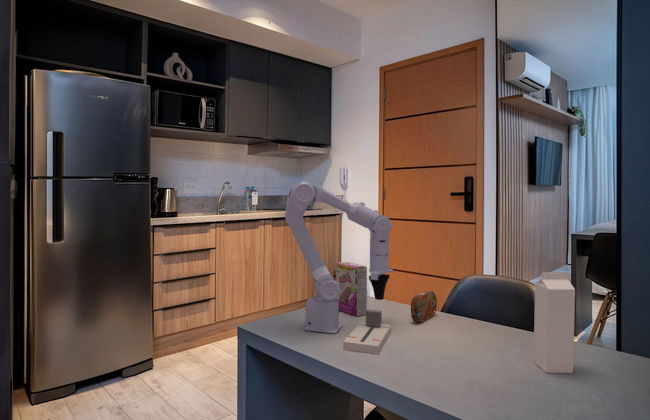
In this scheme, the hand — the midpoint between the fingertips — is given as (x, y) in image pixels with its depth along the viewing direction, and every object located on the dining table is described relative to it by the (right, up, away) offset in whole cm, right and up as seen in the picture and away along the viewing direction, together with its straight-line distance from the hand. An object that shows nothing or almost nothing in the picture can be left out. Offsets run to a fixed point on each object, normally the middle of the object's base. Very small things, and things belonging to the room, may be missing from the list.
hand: (379, 299), depth 123 cm
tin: (+15, -8, +8) cm, 19 cm away
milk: (+36, -10, -30) cm, 48 cm away
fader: (-2, -6, -6) cm, 9 cm away
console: (-4, -9, -12) cm, 15 cm away
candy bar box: (-8, -8, +15) cm, 18 cm away
